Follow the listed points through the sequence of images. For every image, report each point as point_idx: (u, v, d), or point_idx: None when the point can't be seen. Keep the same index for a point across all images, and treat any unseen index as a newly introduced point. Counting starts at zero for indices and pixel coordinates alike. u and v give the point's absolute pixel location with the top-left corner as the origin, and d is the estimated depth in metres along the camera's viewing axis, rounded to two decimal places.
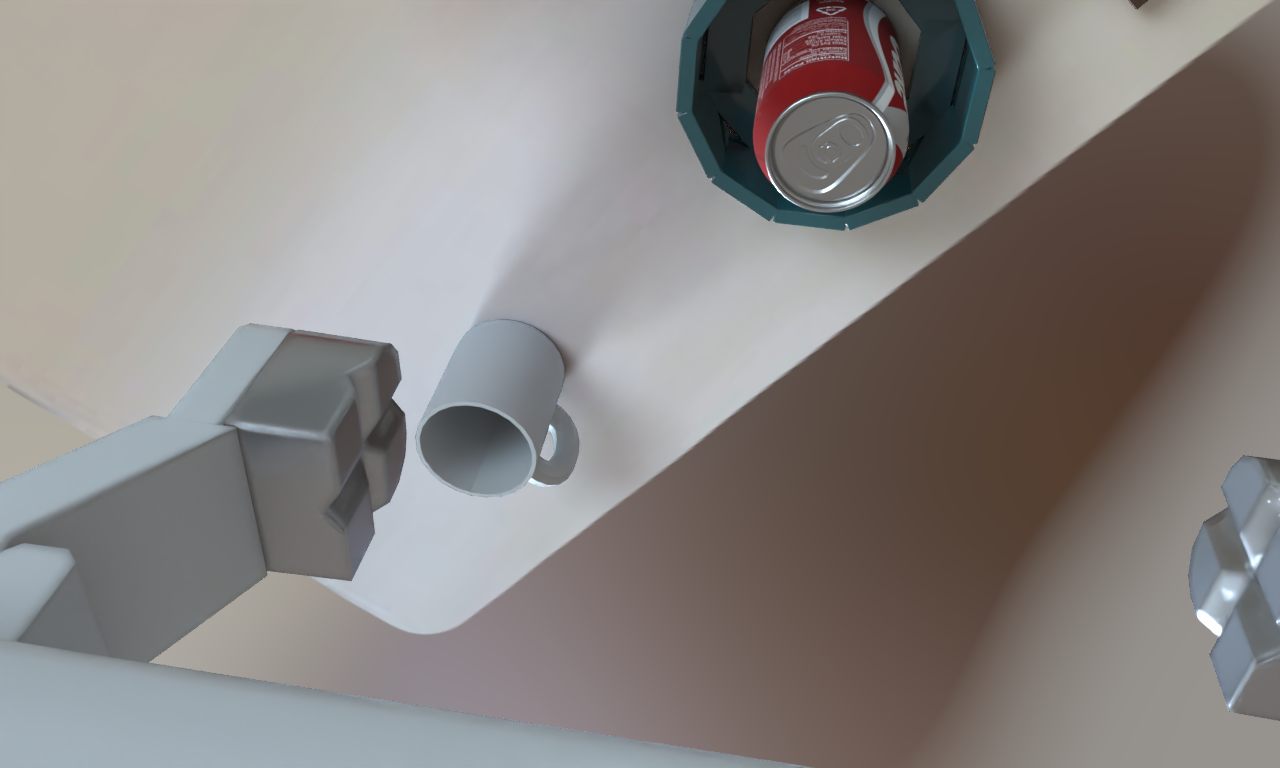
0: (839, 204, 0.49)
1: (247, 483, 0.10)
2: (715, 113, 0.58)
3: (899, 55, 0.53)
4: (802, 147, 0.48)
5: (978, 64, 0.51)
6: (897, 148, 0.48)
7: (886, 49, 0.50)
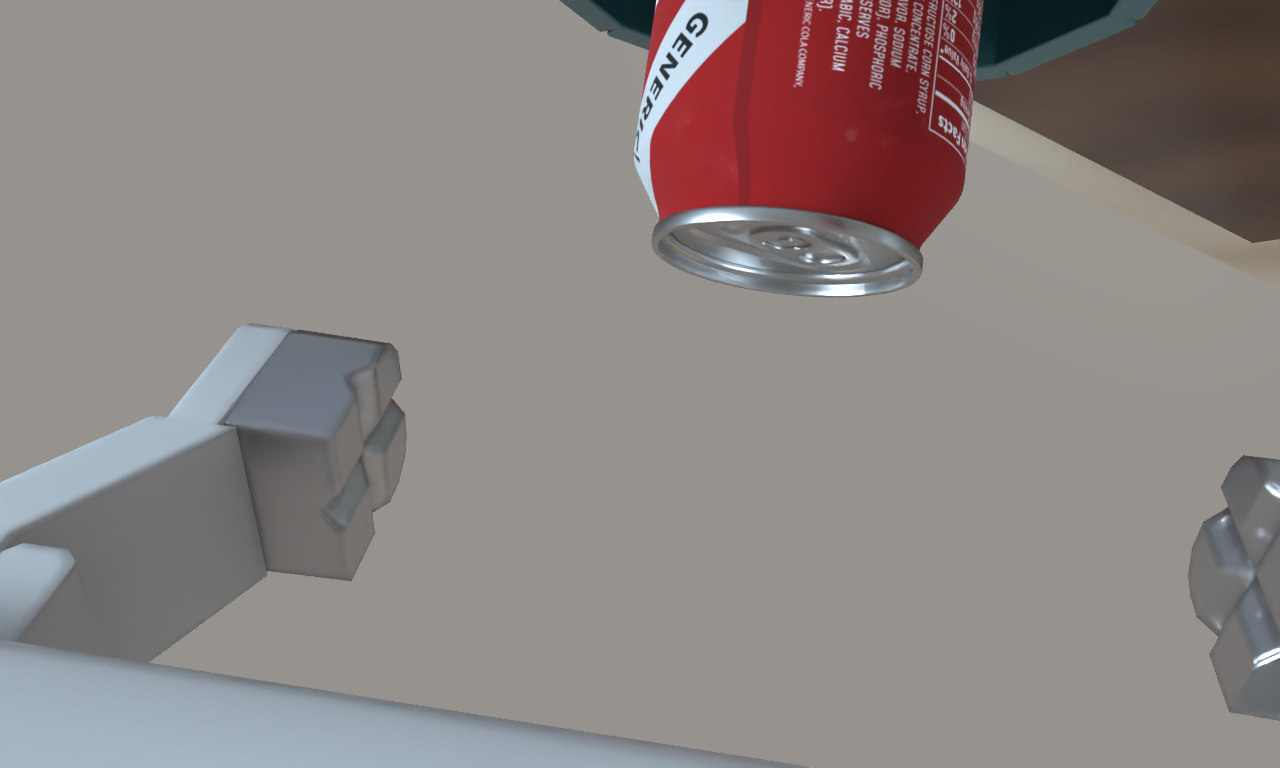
0: (671, 246, 0.24)
1: (246, 483, 0.10)
2: None
3: None
4: None
5: None
6: None
7: None
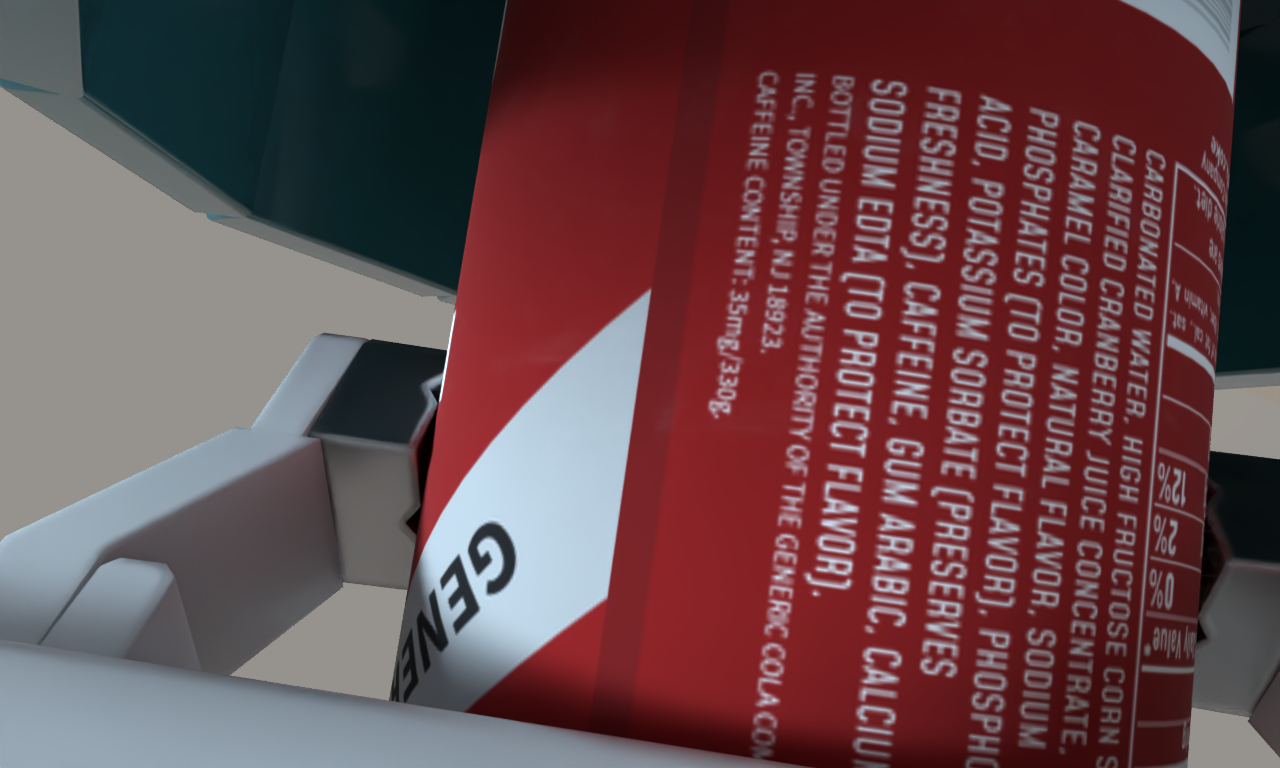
0: None
1: (328, 495, 0.10)
2: None
3: None
4: None
5: None
6: None
7: None
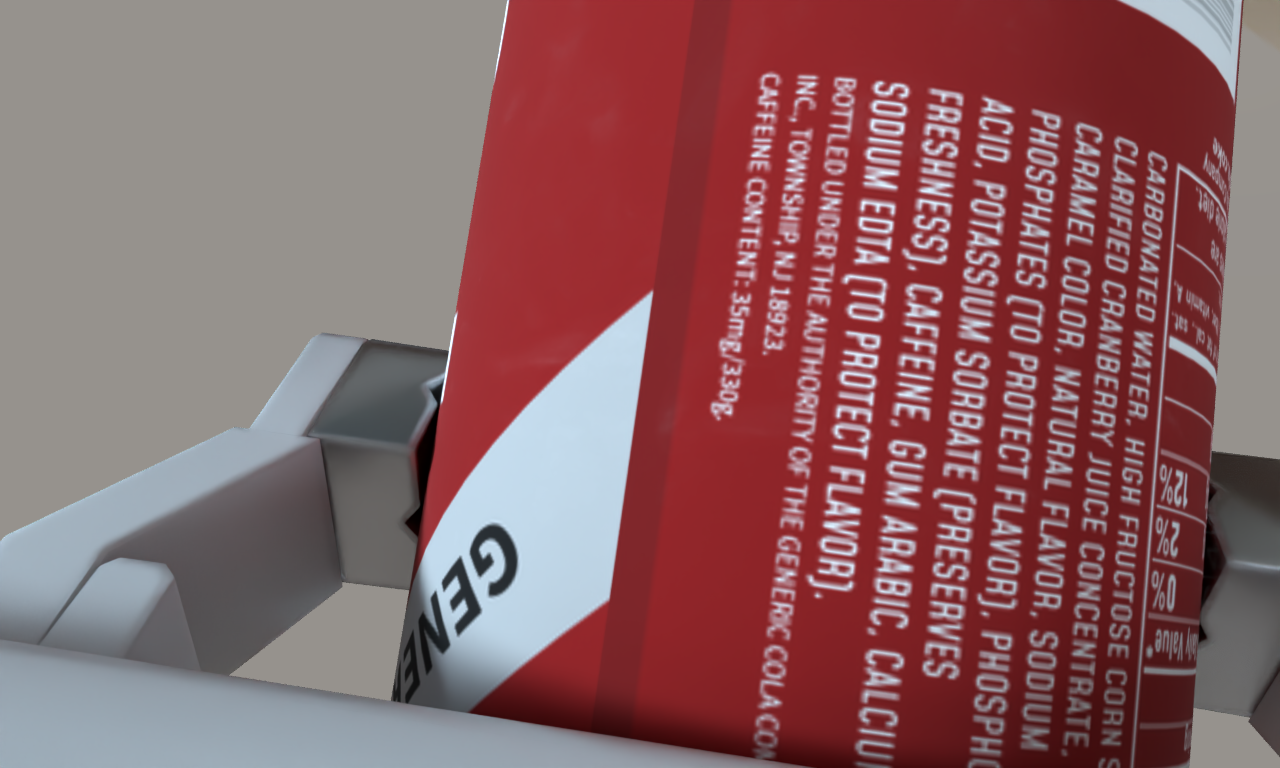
0: None
1: (327, 494, 0.10)
2: None
3: None
4: None
5: None
6: None
7: None
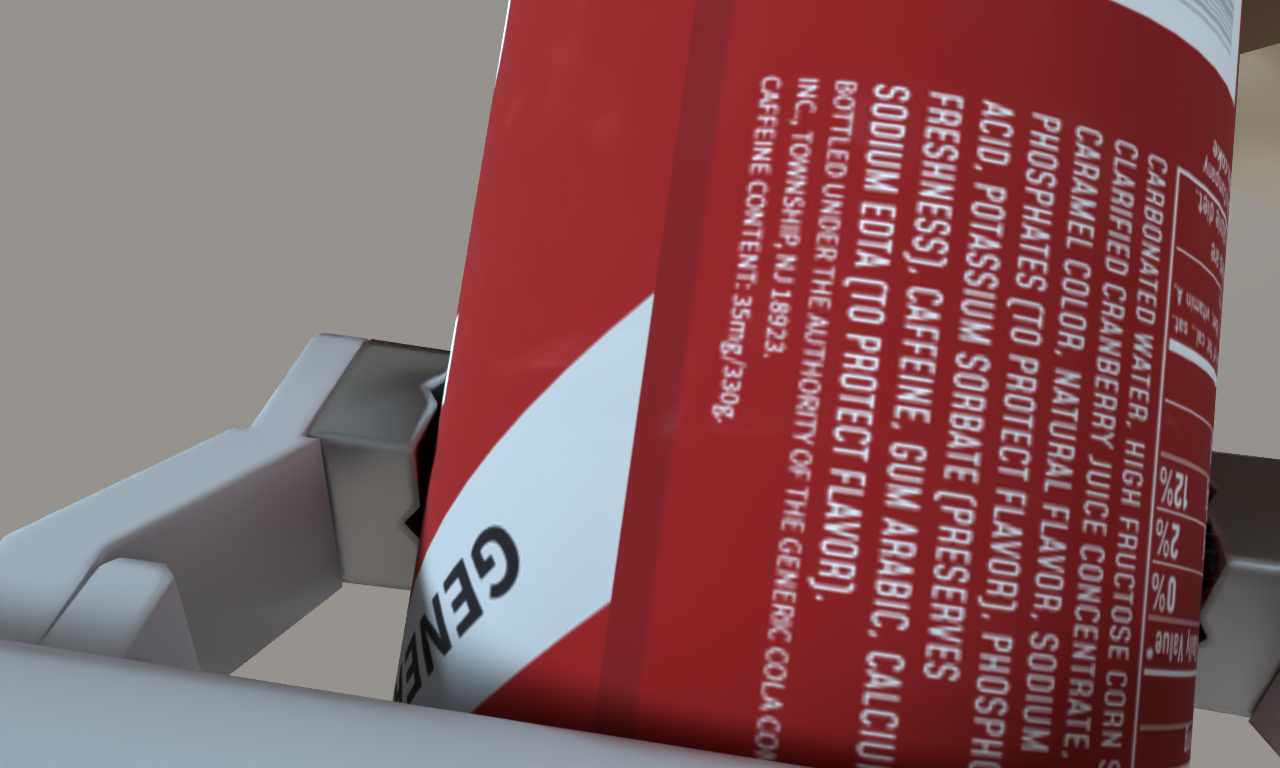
0: None
1: (327, 494, 0.10)
2: None
3: None
4: None
5: None
6: None
7: None
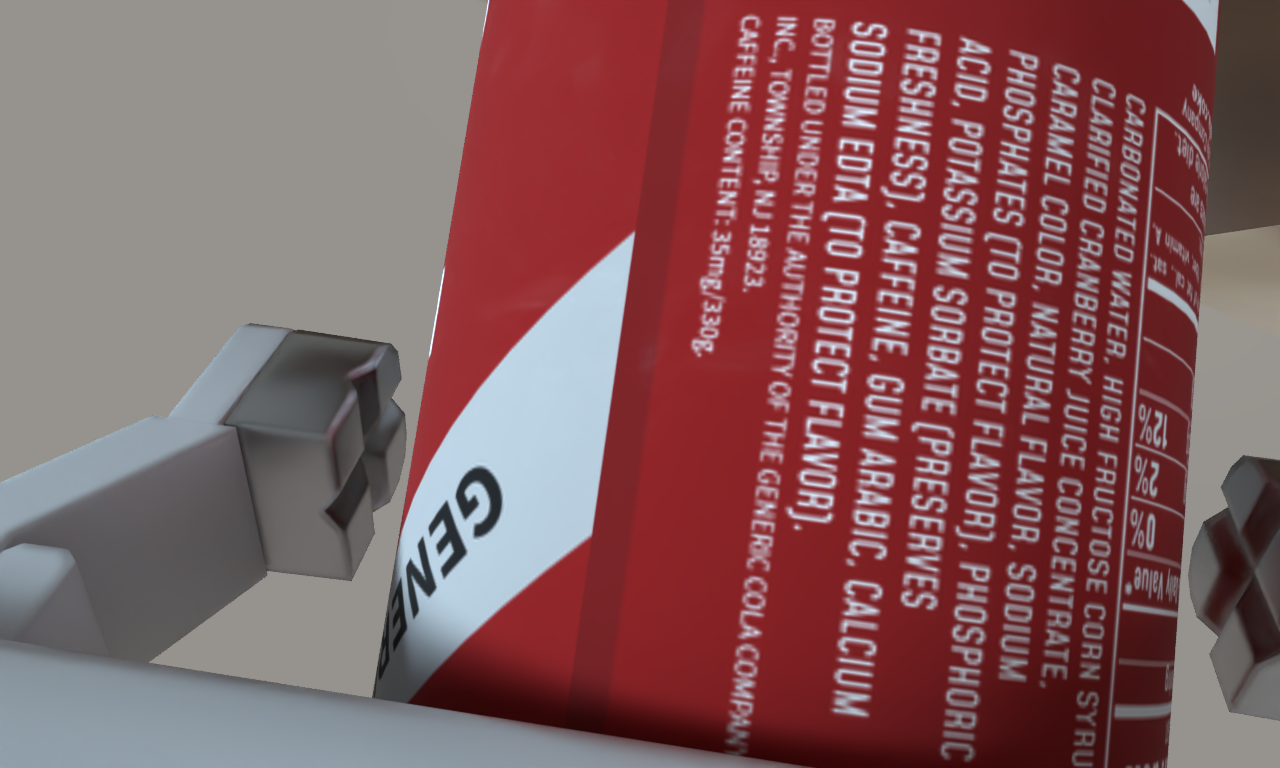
0: None
1: (247, 482, 0.10)
2: None
3: None
4: None
5: None
6: None
7: None
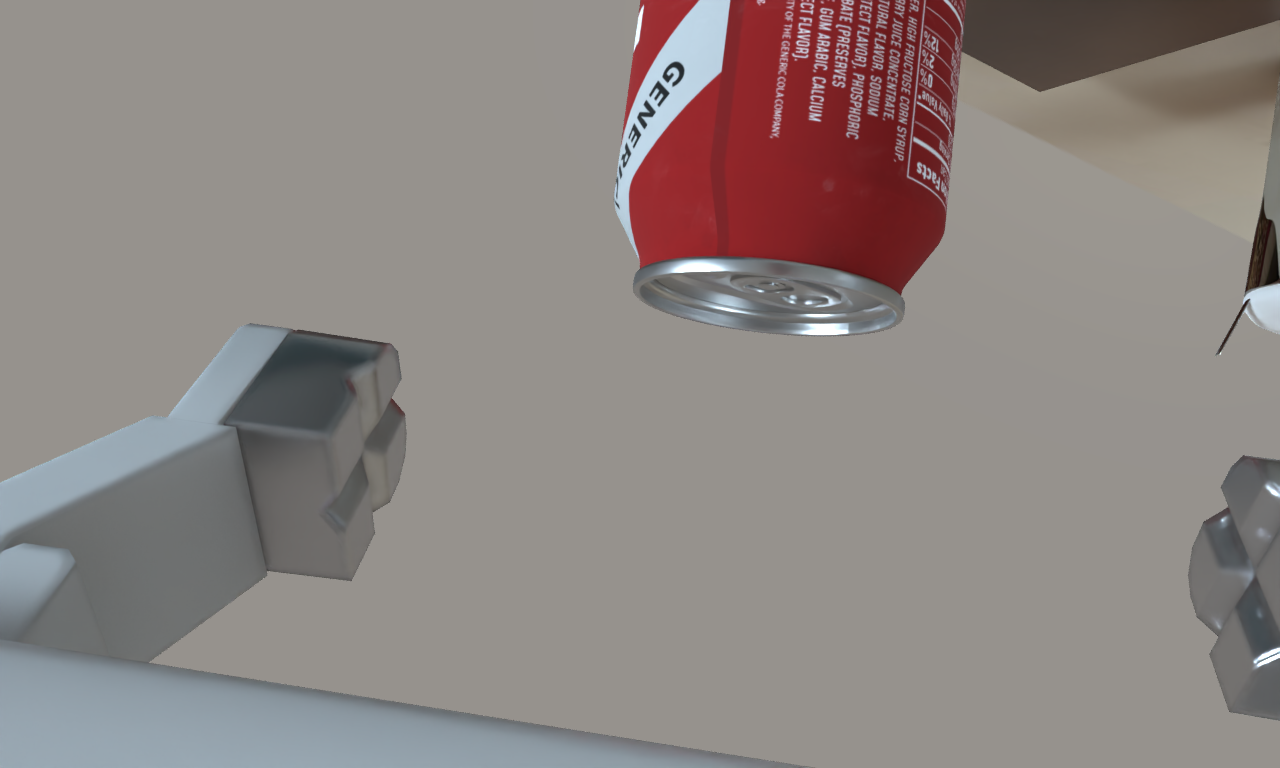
0: (653, 290, 0.24)
1: (246, 483, 0.10)
2: None
3: None
4: None
5: None
6: None
7: None
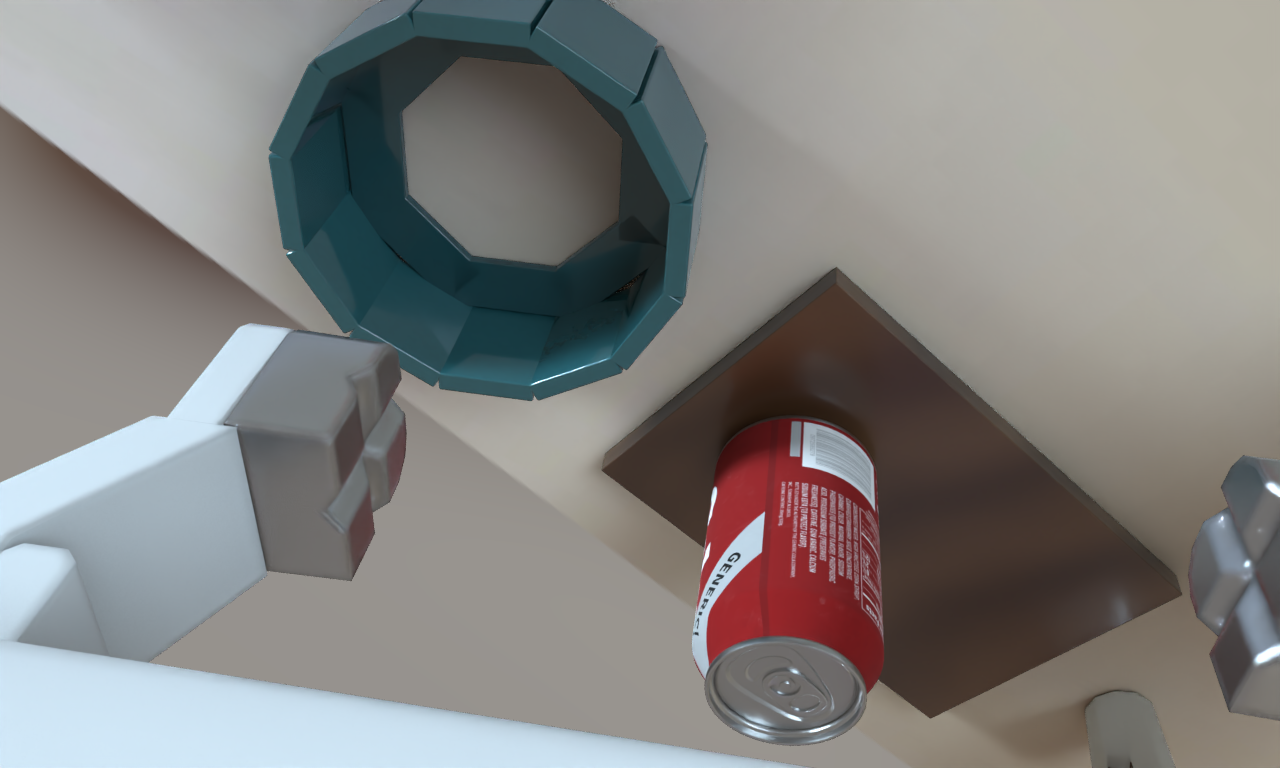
0: (713, 694, 0.39)
1: (247, 483, 0.10)
2: None
3: None
4: (788, 661, 0.38)
5: (537, 385, 0.42)
6: None
7: None
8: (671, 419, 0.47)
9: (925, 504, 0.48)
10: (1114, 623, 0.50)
